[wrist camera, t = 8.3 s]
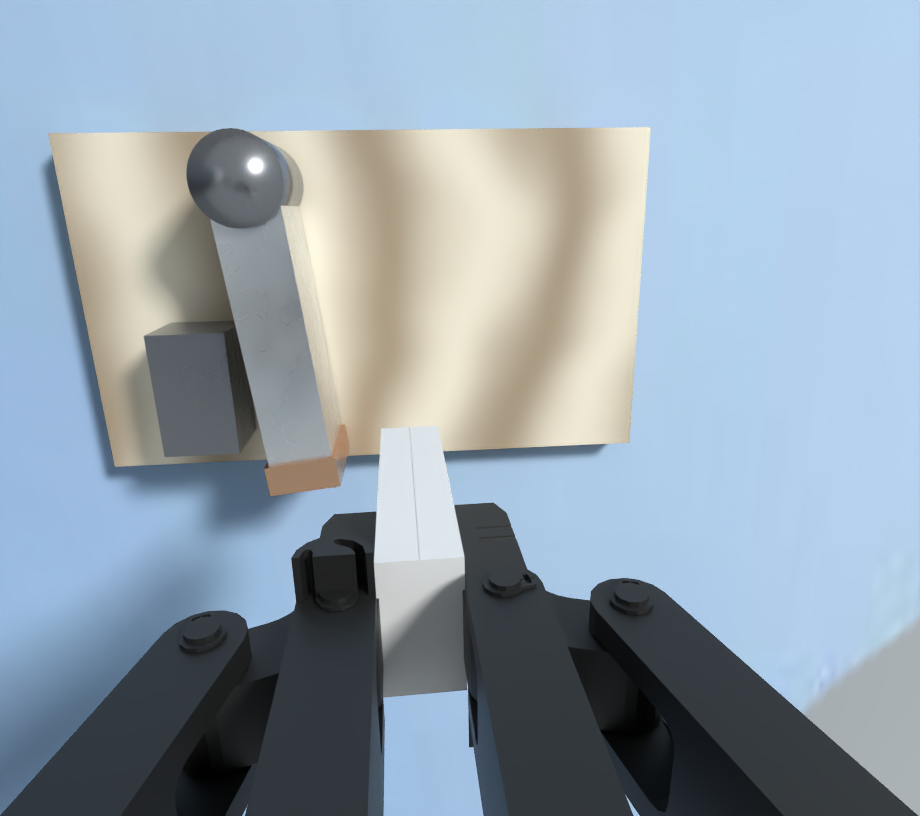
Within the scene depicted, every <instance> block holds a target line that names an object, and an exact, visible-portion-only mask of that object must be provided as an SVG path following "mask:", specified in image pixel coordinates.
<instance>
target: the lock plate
mask: <svg viewBox="0 0 920 816" xmlns="http://www.w3.org/2000/svg"><path fill="white" fill-rule="evenodd" d="M650 129H651V127H637V128H537V129H438V130H338V131H247V132H249V133H251V134H253V135H256V136H258V137H260V138H262V139H264V140H266V141H268V142H270V143H272V144H274V145H276V146H278V147H280V148H281V149H283V150H284V151H286V152H287V153H288V154H289V155H290V156H291V157H292V158H293V159H294V161H295V162H296V164H297V165H298V167H299V169H300V172H301V174H302V178H303V185H304V191H303V197H302V201H301V203H300V206H299V208H300V213H301V218H302V223H303V228H304V234H305V239H306V244H307V249H308V254H309V259H310V264H311V270H312V275H313V280H314V285H315V290H316V295H317V300H318V306H319V311H320V316H321V321H322V326H323V331H324V337H325V342H326V347H327V352H328V357H329V362H330V367H331V373H332V378H333V383H334V388H335V393H336V398H337V403H338V409H339V414H340V419H341V424H345V427H346V433H347V438H348V443H349V452H348V456H354V455H375V454H380V440H381V428H401V427H421V426H438V429H439V433H440V438H441V443H442V448H443V451H461V450H482V449H503V448H524V447H546V446H567V445H588V444H610V443H629V439H630V425H631V410H632V395H633V380H634V365H635V351H636V336H637V321H638V306H639V292H640V277H641V262H642V247H643V233H644V218H645V203H646V188H647V173H648V159H649V144H650ZM209 133H211V132H139V133H48V135H49V140H50V145H51V150H52V155H53V160H54V165H55V170H56V175H57V180H58V185H59V190H60V195H61V200H62V205H63V210H64V215H65V220H66V225H67V230H68V235H69V240H70V245H71V250H72V255H73V260H74V265H75V270H76V275H77V280H78V285H79V290H80V295H81V300H82V305H83V310H84V315H85V320H86V325H87V330H88V335H89V340H90V345H91V350H92V355H93V360H94V365H95V370H96V375H97V380H98V385H99V390H100V395H101V400H102V405H103V410H104V415H105V420H106V425H107V430H108V435H109V440H110V445H111V450H112V455H113V460H114V465H115V467H120V466H141V465H162V464H184V463H205V462H226V461H248V460H267V456H266V452H265V448H264V444H263V440H262V435H261V431H260V427H259V423H258V419H257V414H256V410H255V406H254V402H253V406H254V414H255V422H256V431H255V432H254V434H253V435H252V437H251V438H250V440H249V441H248V442H247V444H246V445H245V447H244V448H243V450H242V451H241V453H240V454H223V455H201V456H179V457H164V451H163V445H162V440H161V434H160V428H159V422H158V416H157V411H156V405H155V399H154V393H153V388H152V382H151V376H150V370H149V364H148V359H147V353H146V347H145V341H144V335H147V334H149V333H151V332H153V331H155V330H157V329H159V328H161V327H163V326H165V325H167V324H169V323H172V322H204V321H234V318H233V313H232V309H231V305H230V301H229V297H228V292H227V288H226V284H225V280H224V276H223V271H222V267H221V263H220V259H219V255H218V250H217V246H216V242H215V238H214V233H213V229H212V225H211V221H210V218H209V217H207V216H206V215H205V214H204V213H203V212H202V211H201V210H200V209H199V207H198V206H197V205H196V203H195V202H194V200H193V198H192V196H191V194H190V191H189V188H188V184H187V176H186V170H187V163H188V159H189V156H190V153H191V152H192V150H193V148H194V147H195V145H196V144H197V143H198V142H199V141H200V140H201V139H202V138H203V137H204V136H206V135H207V134H209Z"/></svg>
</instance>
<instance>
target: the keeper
mask: <svg viewBox="0 0 920 816" xmlns="http://www.w3.org/2000/svg"><path fill="white" fill-rule="evenodd" d="M144 341H145V347H146V353H147V359H148V364H149V370H150V376H151V382H152V388H153V393H154V399H155V405H156V411H157V416H158V422H159V428H160V434H161V440H162V445H163V451H164V457H179V456H201V455H223V454H240V453H241V451H242V450H243V448H244V447H245V445H246V444H247V442H248V441H249V440H250V438H251V437H252V435H253V434H254V432H255V431H256V422H255V414H254V406H253V398H252V393H251V389H250V385H249V381H248V377H247V372H246V368H245V364H244V360H243V355H242V351H241V347H240V343H239V339H238V334H237V330H236V326H235V322H234V321H204V322H172V323H169V324H167V325H165V326H163V327H161V328H159V329H157V330H155V331H153V332H151V333H149V334H147V335H144Z"/></svg>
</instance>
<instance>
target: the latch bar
mask: <svg viewBox="0 0 920 816" xmlns="http://www.w3.org/2000/svg"><path fill="white" fill-rule="evenodd" d="M186 176H187V184H188V188H189V191H190V194H191V196H192V198H193V200H194V202H195V203H196V205H197V206H198V207H199V209H200V210H201V211H202V212H203V213H204V214H205V215H206V216H207V217H209V218H210V221H211V225H212V229H213V233H214V238H215V242H216V246H217V250H218V255H219V259H220V263H221V267H222V271H223V276H224V280H225V284H226V288H227V292H228V297H229V301H230V305H231V309H232V313H233V318H234V322H235V326H236V330H237V334H238V339H239V343H240V347H241V351H242V355H243V360H244V364H245V368H246V372H247V377H248V381H249V385H250V389H251V393H252V398H253V402H254V406H255V410H256V414H257V419H258V423H259V427H260V431H261V435H262V440H263V444H264V448H265V452H266V456H267V461H268V463H267V464H266V466H265V468H264V471H265V475H266V479H267V483H268V488H269V492H270V496H276V495H283V494H290V493H297V492H304V491H310V490H317V489H324V488H331V487H337V486H341V482H342V478H343V473H344V469H345V465H346V461H347V457H348V452H349V443H348V438H347V433H346V427H345V424H341V419H340V414H339V409H338V403H337V398H336V393H335V388H334V383H333V378H332V373H331V367H330V362H329V357H328V352H327V347H326V342H325V337H324V331H323V326H322V321H321V316H320V311H319V306H318V300H317V295H316V290H315V285H314V280H313V275H312V270H311V264H310V259H309V254H308V249H307V244H306V239H305V234H304V228H303V223H302V218H301V213H300V208H299V206H300V203H301V201H302V197H303V191H304V185H303V178H302V174H301V172H300V169H299V167H298V165H297V164H296V162H295V161H294V159H293V158H292V157H291V156H290V155H289V154H288V153H287V152H286V151H284V150H283V149H281V148H280V147H278V146H276V145H274V144H272V143H270V142H268V141H266V140H264V139H262V138H260V137H258V136H256V135H253V134H251V133H249V132H247V131H244V130H240V129H232V128H228V129H220V130H216V131H213V132H211V133H209V134H207V135H206V136H204V137H203V138H202V139H201V140H200V141H199V142H198V143H197V144H196V145H195V147H194V148H193V150H192V152H191V153H190V156H189V159H188V163H187V170H186Z"/></svg>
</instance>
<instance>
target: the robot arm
mask: <svg viewBox="0 0 920 816" xmlns="http://www.w3.org/2000/svg"><path fill="white" fill-rule="evenodd" d="M291 560H292V568H293V577H294V586H295V594H296V605H295V609H294V611H293V612H292V613H290V614H289V615H287V616H285V617H283V618H281V619H279V620H276V621H273V622H270V623H268V624H264V625H261V626H257V627H253V628H250V629H248V627H247V623H246V620H245V619H244V618H242V617H241V616H240V615H239V614H237V613H233V612H228V611H208V612H203V613H199V614H196V615H193V616H190V617H188V618H186V619H184V620H182V621H180V622H178V623H176V624H175V625H173V626H172V627H171V628H170V629H168V630H167V631H166V632H165V633H164V634H163V635H162V636H161V637H160V638H159V639H158V640H157V641H156V643H155V644H154V645H153V646H152V647H151V648H150V649H149V650H148V651H147V653H146V654H145V655H144V656H143V657H142V658H141V659H140V660H139V662H138V663H137V664H136V665H135V666H134V667H133V668H132V669H131V670H130V672H129V673H128V674H127V675H126V676H125V677H124V678H123V679H122V680H121V682H120V683H119V684H118V685H117V686H116V687H115V688H114V689H113V691H112V692H111V693H110V694H109V695H108V696H107V697H106V698H105V699H104V701H103V702H102V703H101V704H100V705H99V706H98V707H97V708H96V709H95V711H94V712H93V713H92V714H91V715H90V716H89V717H88V718H87V720H86V721H85V722H84V723H83V724H82V725H81V726H80V727H79V728H78V730H77V731H76V732H75V733H74V734H73V735H72V736H71V737H70V738H69V740H68V741H67V742H66V743H65V744H64V745H63V746H62V747H61V749H60V750H59V751H58V752H57V753H56V754H55V755H54V756H53V757H52V759H51V760H50V761H49V762H48V763H47V764H46V765H45V766H44V767H43V769H42V770H41V771H40V772H39V773H38V774H37V775H36V776H35V778H34V779H33V780H32V781H31V782H30V783H29V784H28V785H27V786H26V788H25V789H24V790H23V791H22V792H21V793H20V794H19V795H18V796H17V798H16V799H15V800H14V801H13V802H12V803H11V804H10V805H9V807H8V808H7V809H6V810H5V811H4V812H3V813H2V814H1V815H0V816H242V815H243V813H244V811H245V809H246V807H247V810H246V814H245V816H383V807H384V730H385V719H384V704H383V697H393V696H405V695H416V694H427V693H438V692H450V691H461V690H467V683H468V706H469V747H474V753H475V760H476V767H477V774H478V780H479V787H480V794H481V801H482V808H483V815H484V816H633V814H632V811H631V808H630V806H629V803H628V801H627V798H626V796H627V797H628V799H629V800H630V802H631V803H632V805H633V806H634V808H635V809H636V811H637V812H638V814H639V815H640V816H918V815H917V814H916V813H914V812H913V811H912V810H911V809H910V808H909V807H908V806H906V805H905V804H904V803H903V802H902V801H901V800H899V798H897V797H896V796H895V795H894V794H893V793H892V792H890V791H889V790H888V789H887V788H886V787H885V786H884V785H883V784H881V783H880V782H879V781H878V780H877V779H876V778H874V777H873V776H872V775H871V774H870V773H869V772H868V771H867V770H866V769H865V768H863V767H862V766H861V765H860V764H859V763H858V762H856V761H855V760H854V759H853V758H852V757H851V756H850V755H849V754H848V753H846V752H845V751H844V750H843V749H842V748H841V747H840V746H838V745H837V744H836V743H835V742H834V741H833V740H831V739H830V738H829V737H828V736H827V735H826V734H825V733H824V732H822V731H821V730H820V729H819V728H818V727H817V726H816V725H815V724H813V723H812V722H811V721H810V720H809V719H808V718H806V716H804V715H803V714H802V713H801V712H800V711H799V710H798V709H796V708H795V707H794V706H793V705H792V704H791V703H790V702H789V701H787V700H786V699H785V698H784V697H783V696H782V695H781V694H779V693H778V692H777V691H776V690H775V689H774V688H773V687H771V686H770V685H769V684H768V683H767V682H766V681H765V680H764V679H762V678H761V677H760V676H759V675H758V674H757V673H756V672H754V671H753V670H752V669H751V668H750V667H749V666H748V665H747V664H745V663H744V662H743V661H742V660H741V659H740V658H739V657H737V656H736V655H735V654H734V653H733V652H732V651H731V650H730V649H728V648H727V647H726V646H725V645H724V644H723V643H722V642H720V641H719V640H718V639H717V638H716V637H715V636H714V635H713V634H711V633H710V632H709V631H708V630H707V629H706V628H705V627H703V626H702V625H701V624H700V623H699V622H698V621H697V620H695V619H694V618H693V617H692V616H691V615H690V614H689V613H688V612H686V611H685V610H684V609H683V608H682V607H681V606H680V605H678V604H677V603H676V602H675V601H674V600H673V599H672V598H671V597H669V596H668V595H667V594H666V593H665V592H663V591H662V590H660V589H659V588H657V587H655V586H654V585H652V584H649V583H646V582H643V581H640V580H636V579H629V578H620V579H610V580H607V581H604V582H602V583H599V584H597V586H596V587H595V588H594V589H593V590H592V591H591V598H590V601H589V600H581V599H573V598H567V597H562V596H558V595H555V594H553V593H550V592H547V591H546V590H545V588H544V585H543V583H542V581H541V580H540V579H539V577H538V576H537V575H536V574H534V573H532V572H531V571H529V570H527V567H526V565H525V562H524V559H523V557H522V554H521V551H520V548H519V546H518V543H517V540H516V538H515V535H514V532H513V529H512V528H511V524H510V521H509V518H508V516H507V513H506V512H505V511H503V510H502V509H501V508H500V507H498V506H497V505H496V504H494V503H481V504H465V505H454V503H453V498H452V493H451V488H450V483H449V478H448V473H447V468H446V463H445V458H444V453H443V448H442V443H441V438H440V433H439V429H438V426H421V427H401V428H381V440H380V459H379V478H378V496H377V512H364V513H348V514H334V515H333V516H332V517H331V518H330V519H329V520H328V521H327V522H326V523H325V524H324V525H323V526H322V531H321V535H320V538H319V539H316V540H313V541H311V542H308V543H306V544H305V545H303V546H302V547H300V548H299V549H297V550H296V552H295V553H294V555H293V557H292V558H291ZM625 795H626V796H625ZM247 805H248V806H247Z"/></svg>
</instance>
